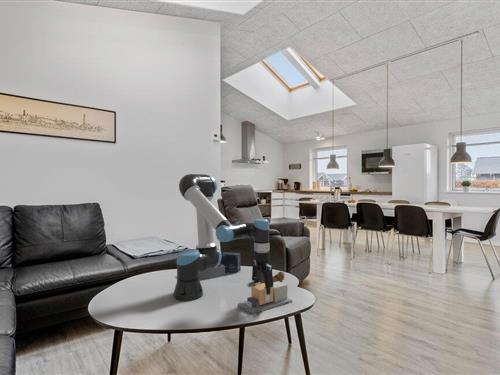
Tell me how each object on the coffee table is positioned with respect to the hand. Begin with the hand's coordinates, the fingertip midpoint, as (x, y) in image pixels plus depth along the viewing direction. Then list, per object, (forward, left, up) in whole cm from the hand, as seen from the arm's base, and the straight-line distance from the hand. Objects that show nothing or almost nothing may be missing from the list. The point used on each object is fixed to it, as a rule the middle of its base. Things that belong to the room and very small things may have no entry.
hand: (262, 298), depth 143 cm
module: (0, 0, -1) cm, 1 cm away
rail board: (0, +2, -3) cm, 4 cm away
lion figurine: (-16, +19, -3) cm, 25 cm away
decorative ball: (-27, +20, -3) cm, 34 cm away
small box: (-59, +16, -3) cm, 61 cm away
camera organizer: (-60, -3, -3) cm, 60 cm away
